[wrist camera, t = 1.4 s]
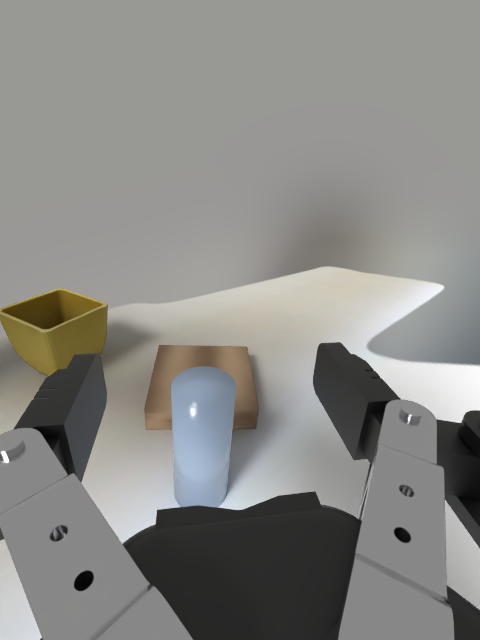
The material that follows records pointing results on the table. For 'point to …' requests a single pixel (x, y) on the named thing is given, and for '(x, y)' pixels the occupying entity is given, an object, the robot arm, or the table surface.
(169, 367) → the stand
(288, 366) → the table surface
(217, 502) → the pale blue tumbler
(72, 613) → the robot arm
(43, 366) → the flower pot
